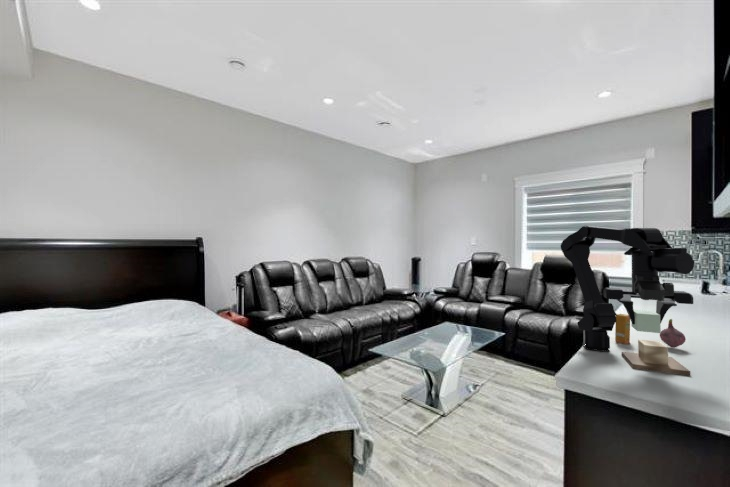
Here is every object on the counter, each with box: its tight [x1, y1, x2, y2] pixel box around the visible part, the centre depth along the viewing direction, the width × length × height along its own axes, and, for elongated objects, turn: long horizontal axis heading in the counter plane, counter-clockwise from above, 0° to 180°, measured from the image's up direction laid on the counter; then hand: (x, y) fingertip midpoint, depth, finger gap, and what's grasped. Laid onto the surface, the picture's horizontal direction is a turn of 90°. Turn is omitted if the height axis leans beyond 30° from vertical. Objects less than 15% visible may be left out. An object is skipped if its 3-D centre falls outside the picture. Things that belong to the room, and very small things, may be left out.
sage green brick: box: [631, 309, 662, 334], centre depth 91 cm, size 5×6×5 cm
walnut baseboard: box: [621, 351, 691, 377], centre depth 92 cm, size 12×12×1 cm
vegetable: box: [659, 318, 687, 349], centre depth 106 cm, size 6×6×10 cm
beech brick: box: [637, 339, 669, 365], centre depth 92 cm, size 5×6×5 cm
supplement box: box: [614, 313, 631, 345], centre depth 113 cm, size 3×3×10 cm
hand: (645, 325), depth 91 cm, fingers closed on sage green brick, 5 cm apart
